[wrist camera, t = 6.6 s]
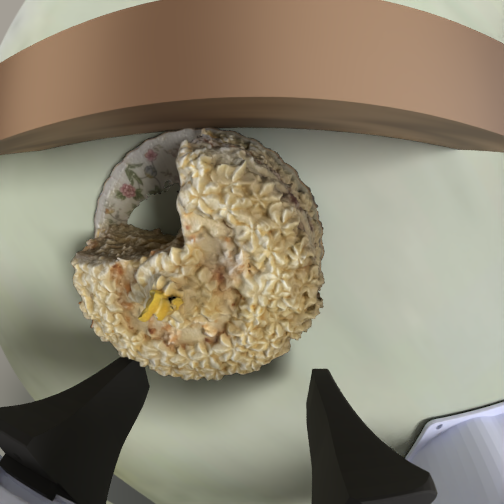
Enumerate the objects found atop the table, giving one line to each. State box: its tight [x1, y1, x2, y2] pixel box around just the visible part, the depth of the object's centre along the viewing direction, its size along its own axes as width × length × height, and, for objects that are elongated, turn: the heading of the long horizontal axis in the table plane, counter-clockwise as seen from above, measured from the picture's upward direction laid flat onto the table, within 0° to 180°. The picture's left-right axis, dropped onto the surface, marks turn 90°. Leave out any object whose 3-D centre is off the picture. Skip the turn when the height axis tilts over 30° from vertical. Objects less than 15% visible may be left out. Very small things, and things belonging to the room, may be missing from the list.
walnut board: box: [0, 0, 504, 155], centre depth 7 cm, size 19×2×6 cm, turn 90°
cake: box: [71, 127, 325, 381], centre depth 10 cm, size 10×10×5 cm
